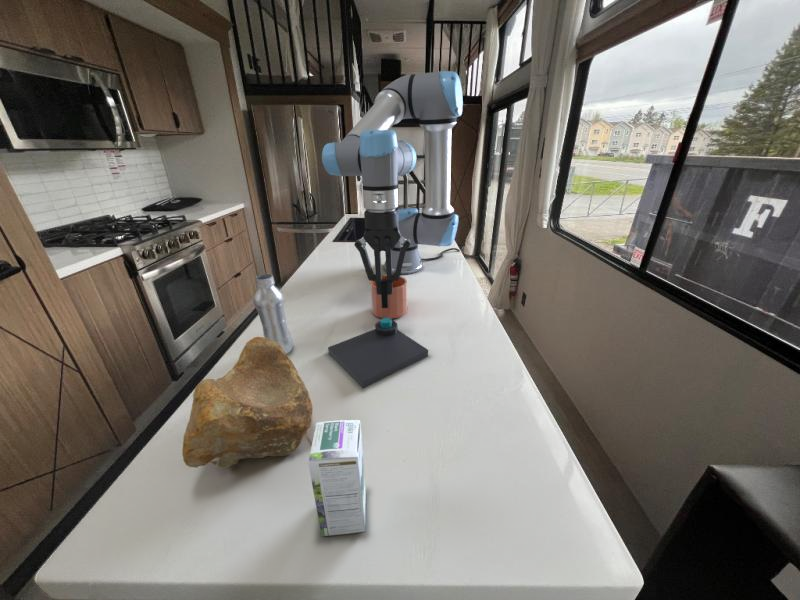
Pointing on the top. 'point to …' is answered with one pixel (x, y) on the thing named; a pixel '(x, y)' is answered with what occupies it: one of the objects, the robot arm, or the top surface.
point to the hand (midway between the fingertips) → (385, 305)
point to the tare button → (386, 323)
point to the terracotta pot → (390, 299)
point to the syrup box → (338, 477)
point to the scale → (377, 354)
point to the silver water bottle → (272, 312)
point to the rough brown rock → (248, 410)
